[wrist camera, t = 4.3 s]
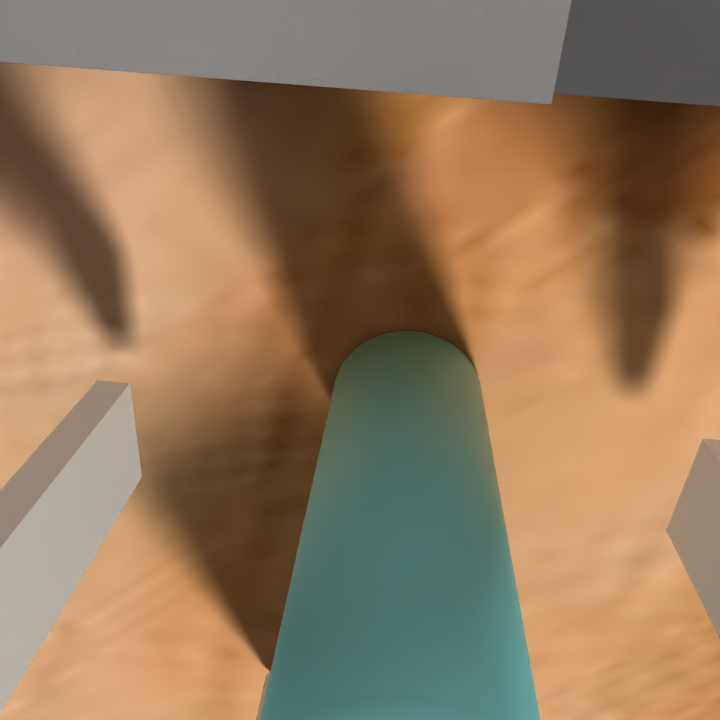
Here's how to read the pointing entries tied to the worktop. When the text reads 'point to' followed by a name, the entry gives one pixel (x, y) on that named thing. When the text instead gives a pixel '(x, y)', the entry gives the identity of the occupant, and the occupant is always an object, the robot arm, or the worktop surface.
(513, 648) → the pin
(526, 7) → the plate with side rollers
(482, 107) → the worktop surface
